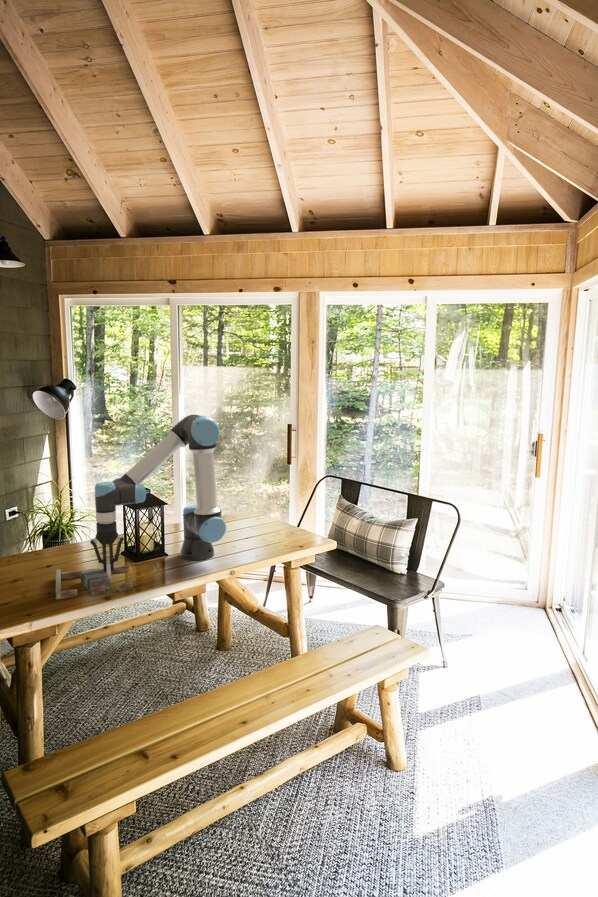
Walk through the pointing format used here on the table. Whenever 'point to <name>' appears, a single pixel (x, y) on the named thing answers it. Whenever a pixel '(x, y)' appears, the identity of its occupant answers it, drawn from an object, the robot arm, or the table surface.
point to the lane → (94, 590)
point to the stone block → (95, 579)
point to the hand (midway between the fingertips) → (109, 578)
